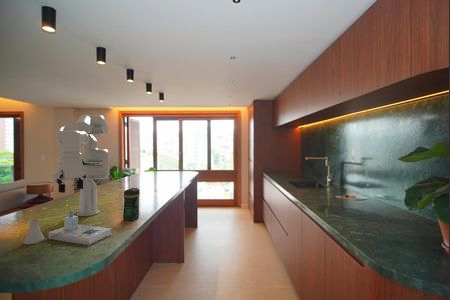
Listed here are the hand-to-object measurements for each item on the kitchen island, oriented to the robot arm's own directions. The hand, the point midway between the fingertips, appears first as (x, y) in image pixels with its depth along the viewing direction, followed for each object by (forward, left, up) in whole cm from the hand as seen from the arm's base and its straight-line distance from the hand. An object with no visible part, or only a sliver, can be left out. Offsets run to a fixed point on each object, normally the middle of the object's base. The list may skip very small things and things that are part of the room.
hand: (71, 190), depth 112 cm
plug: (0, 0, -22) cm, 22 cm away
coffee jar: (+11, +31, -22) cm, 40 cm away
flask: (-8, -11, -22) cm, 26 cm away
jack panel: (+6, 0, -22) cm, 23 cm away
